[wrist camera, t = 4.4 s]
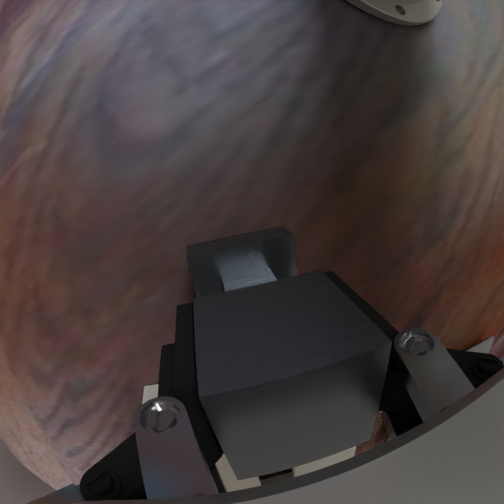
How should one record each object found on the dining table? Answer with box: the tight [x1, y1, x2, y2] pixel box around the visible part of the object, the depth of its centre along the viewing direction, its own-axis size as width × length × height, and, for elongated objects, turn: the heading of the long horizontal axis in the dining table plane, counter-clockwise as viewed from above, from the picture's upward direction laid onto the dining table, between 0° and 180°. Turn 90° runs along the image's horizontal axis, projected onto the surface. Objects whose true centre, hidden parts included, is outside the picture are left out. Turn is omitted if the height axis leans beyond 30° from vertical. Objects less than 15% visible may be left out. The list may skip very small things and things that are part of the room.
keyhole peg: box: [187, 226, 392, 480], centre depth 10 cm, size 4×4×9 cm
